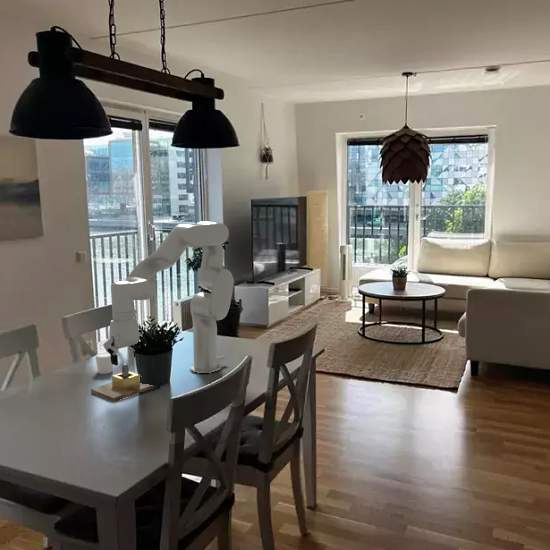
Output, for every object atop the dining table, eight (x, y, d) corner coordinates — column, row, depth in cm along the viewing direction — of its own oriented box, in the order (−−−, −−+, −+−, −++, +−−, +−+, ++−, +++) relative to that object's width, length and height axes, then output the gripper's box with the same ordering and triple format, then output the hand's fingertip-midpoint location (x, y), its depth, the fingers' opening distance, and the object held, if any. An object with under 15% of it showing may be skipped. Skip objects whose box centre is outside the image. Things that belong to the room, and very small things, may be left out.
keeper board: (137, 378, 220) (136, 374, 220) (159, 386, 211) (159, 382, 211) (91, 392, 205) (91, 388, 204) (113, 402, 196) (113, 398, 196)
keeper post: (126, 384, 209) (125, 362, 208) (130, 385, 208) (129, 364, 206) (121, 385, 207) (120, 364, 206) (125, 387, 206) (124, 365, 205)
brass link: (128, 381, 212) (127, 370, 212) (139, 385, 208) (139, 374, 207) (112, 386, 207) (111, 375, 206) (123, 390, 203) (123, 379, 202)
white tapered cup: (116, 369, 231) (115, 352, 230) (110, 374, 225) (109, 357, 224) (100, 368, 232) (99, 352, 231) (93, 374, 225) (92, 357, 224)
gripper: (136, 309, 212) (139, 353, 215) (96, 318, 199) (99, 365, 202) (149, 312, 208) (151, 357, 211) (108, 321, 195) (111, 369, 198)
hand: (126, 361), depth 206 cm, fingers open, 9 cm apart
